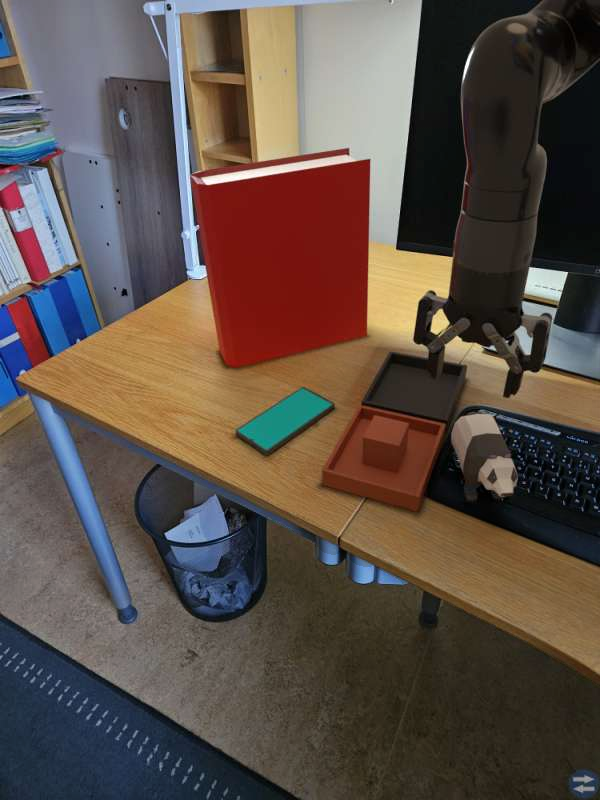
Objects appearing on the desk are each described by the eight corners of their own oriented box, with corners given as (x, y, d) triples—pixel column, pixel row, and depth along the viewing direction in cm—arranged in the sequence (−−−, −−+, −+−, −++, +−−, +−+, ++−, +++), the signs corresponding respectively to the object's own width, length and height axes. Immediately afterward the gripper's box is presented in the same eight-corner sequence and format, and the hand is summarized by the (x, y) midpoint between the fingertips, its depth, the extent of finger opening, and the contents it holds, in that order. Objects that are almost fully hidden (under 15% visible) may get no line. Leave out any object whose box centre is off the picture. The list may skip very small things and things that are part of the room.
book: (349, 316, 113) (349, 147, 93) (366, 335, 107) (370, 158, 87) (218, 347, 106) (188, 172, 87) (228, 369, 100) (199, 186, 80)
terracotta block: (407, 449, 80) (409, 422, 77) (397, 473, 76) (399, 445, 73) (373, 441, 81) (374, 414, 78) (362, 464, 78) (362, 437, 75)
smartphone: (335, 403, 89) (266, 452, 81) (335, 407, 89) (267, 456, 81) (302, 386, 93) (233, 430, 85) (302, 390, 94) (234, 434, 85)
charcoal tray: (465, 379, 94) (467, 365, 92) (445, 434, 83) (447, 420, 81) (389, 364, 98) (389, 351, 97) (360, 415, 88) (361, 401, 86)
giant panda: (446, 452, 80) (453, 399, 74) (484, 449, 80) (495, 396, 74) (476, 533, 68) (487, 478, 62) (521, 530, 68) (537, 475, 62)
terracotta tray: (444, 438, 82) (446, 423, 81) (417, 512, 72) (419, 497, 70) (359, 418, 87) (359, 404, 85) (322, 485, 76) (321, 470, 74)
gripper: (574, 251, 55) (541, 383, 65) (436, 231, 62) (425, 354, 72) (558, 282, 51) (525, 420, 60) (410, 256, 57) (402, 385, 67)
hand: (471, 384), depth 66 cm, fingers open, 8 cm apart
